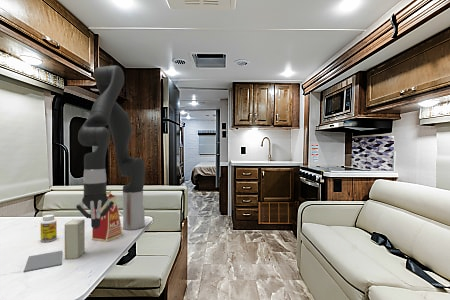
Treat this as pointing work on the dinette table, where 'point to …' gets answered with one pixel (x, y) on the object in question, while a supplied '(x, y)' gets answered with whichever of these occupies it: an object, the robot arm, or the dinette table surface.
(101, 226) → the milk carton
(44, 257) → the mat
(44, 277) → the dinette table surface
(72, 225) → the skincare box
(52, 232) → the supplement bottle
